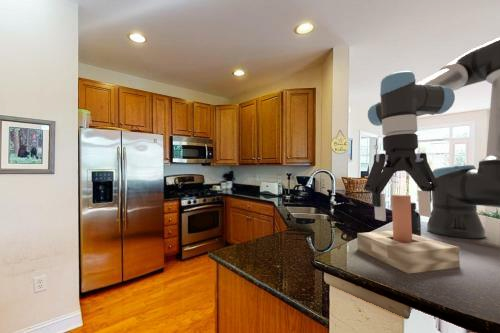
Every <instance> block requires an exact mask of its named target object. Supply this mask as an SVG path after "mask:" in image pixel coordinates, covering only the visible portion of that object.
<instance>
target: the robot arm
mask: <svg viewBox="0 0 500 333" xmlns="http://www.w3.org/2000/svg"><path fill="white" fill-rule="evenodd" d="M416 80H417V79H416V77H415V73H414V72H412V71H409V70H404V71H397V72H393V73H391V74H388V75H386V76H385V77H383V78H382V80H381V81H380V94H379V95H380V102H377V103H375V104H372V105H371V106H370V107H369V109H368V110H367V118H368V121H369V123H370V124H372V126H376V127H380V126H381V127H382V128H381V129H382V135H383V138H382V150H383V151H384V152H385V153H376V154H374V155H373V164H372V166H371V169H370V171H369V173H368V177H367V179H366V181H365V185H364V187H363V189H364V191H365V192H368V193H370V194H371V203H372V206H373V207H374V219H375V220H378V221H382V222H386V221H387V215H386V214H387V213H386V212H387V210H386V194H385V193H383V191H384V190H385V188H386V186H387V185H388V183H389V182H390V180H391V179H392V177H393V176H394V174H396V173H398V172H406V173H408V175H409V176H410V178H412V180H413V181H414V182H415V184H416V186H417V187H418V188H419V189H420V190H417V197H418V198H417V199H418V204H417V205H418V213H419V215H420V217H421V216H422V217H427V218H428V221H427V222H426V223H427V224H426V225H427V226H426V229H427V231H429V232H430V233H434V234H437V235H441V236H446V237H447V236H448V237H454V238H461V239H483V238H485V237H486V229H485V228H484V225H483V223H482V220H481V219H480V216H479V214H478V210H477V206H482V207H489V208H490V207H491V208H500V37H498V38H496V39H494V40H492V41H489V42H487V43H485V44H484V43H483V45H480V46H477V47H476V48H473V49H470V50H469V51H468V52H466V53H464V54H462V55H461V56H459V57H458V58H456V59H454V60H453V61H451V62H449V63H447V64H446V65H444V66H442V67H441V68H440V69H439V71H438V72H436V73H434V74H433V75H431V76H429V77H427V78H425V79H423V80H422V81H419V82H418V83H417V82H416ZM485 81H486V82H487V83H489V84H491V95H490V106H489V117H488V128H487V129H488V131H487V144H486V156H485V157H484V158H482V159H481V160H479V161H478V168H476V167H475V165H473V164H460V165H452V166H451V165H450V166H444V167H443V166H442V167H438V168H435V169H433V170H432V168H431V166H430V164H429V161H428V157H427V153H425V152H420V153H419V152H418V153H416V150H417V149H418V148H419V136H418V135H417V132H418V119H417V118H418V117H420V116H425V115H431V116H432V115H433V116H434V115H440V114H444V113H446V112H447V111H449V110H450V109H451V108H452V106H453V105H454V103H455V100H456V98H455V97H456V96H455V92H454V91H458V90H461V89H462V88H463V87H464V88H465V87H467V86H470V85H474V84H478V83H482V82H485ZM431 203H432V204H431ZM431 205H432V206H431Z"/></svg>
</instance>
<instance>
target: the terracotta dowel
mask: <svg viewBox="0 0 500 333" xmlns="http://www.w3.org/2000/svg"><path fill="white" fill-rule="evenodd" d="M411 199H412V198H411V195H409V194H408V195H407V194H391V210H392V211H391V213H392V231H393V240H395V241H398V242H401V243H411V242H412V223H411V202H412V201H411Z"/></svg>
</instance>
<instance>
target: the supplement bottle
mask: <svg viewBox="0 0 500 333" xmlns="http://www.w3.org/2000/svg"><path fill="white" fill-rule="evenodd" d="M416 210H417V204H416V202H412V201H411V223H412V234H415V235H418V236H422V228H421V225H422V224H421V215H419V211H416Z"/></svg>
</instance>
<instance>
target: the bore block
mask: <svg viewBox="0 0 500 333" xmlns="http://www.w3.org/2000/svg"><path fill="white" fill-rule="evenodd" d="M356 235H357V236H356V238H357V240H356V241H357V250H358V251H360V252H362V253H364V254H366V255H369V256H371V257H372V258H374V259H377V260H379V261H381V262H383V263H385V264H387V265H390V266H391V267H394V268H396V269H398V270H400V271H402V272H404V273H406V274H408V275H409V274H416V273H425V272H433V271H439V270H448V269H459V268H460V267H461V265H460V264H461V263H460V262H461V260H460V246H457V245H453V244H449V243H446V242H443V241H440V240H435V239H431V238H429V237H426V236H422V235H421V236H418V235H415V234H412V242H411V243H401V242H398V241H395V240H393V230H384V231H383V230H381V231H369V232H357V233H356Z"/></svg>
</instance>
